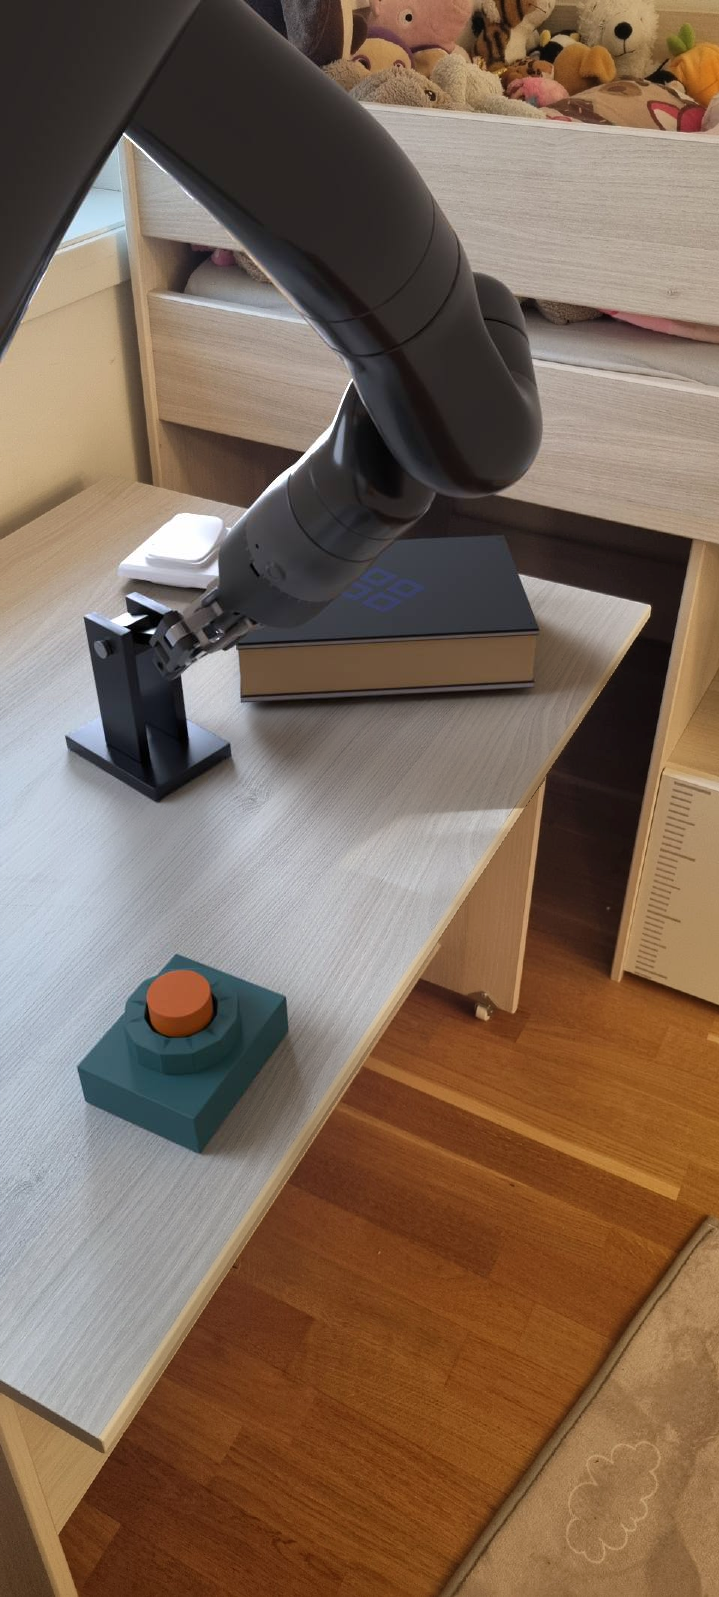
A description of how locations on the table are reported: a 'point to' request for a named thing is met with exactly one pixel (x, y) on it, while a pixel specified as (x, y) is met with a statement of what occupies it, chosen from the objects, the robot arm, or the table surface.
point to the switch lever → (140, 630)
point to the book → (405, 629)
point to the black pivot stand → (141, 713)
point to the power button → (180, 1003)
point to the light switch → (179, 553)
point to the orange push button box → (185, 1059)
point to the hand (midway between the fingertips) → (192, 652)
